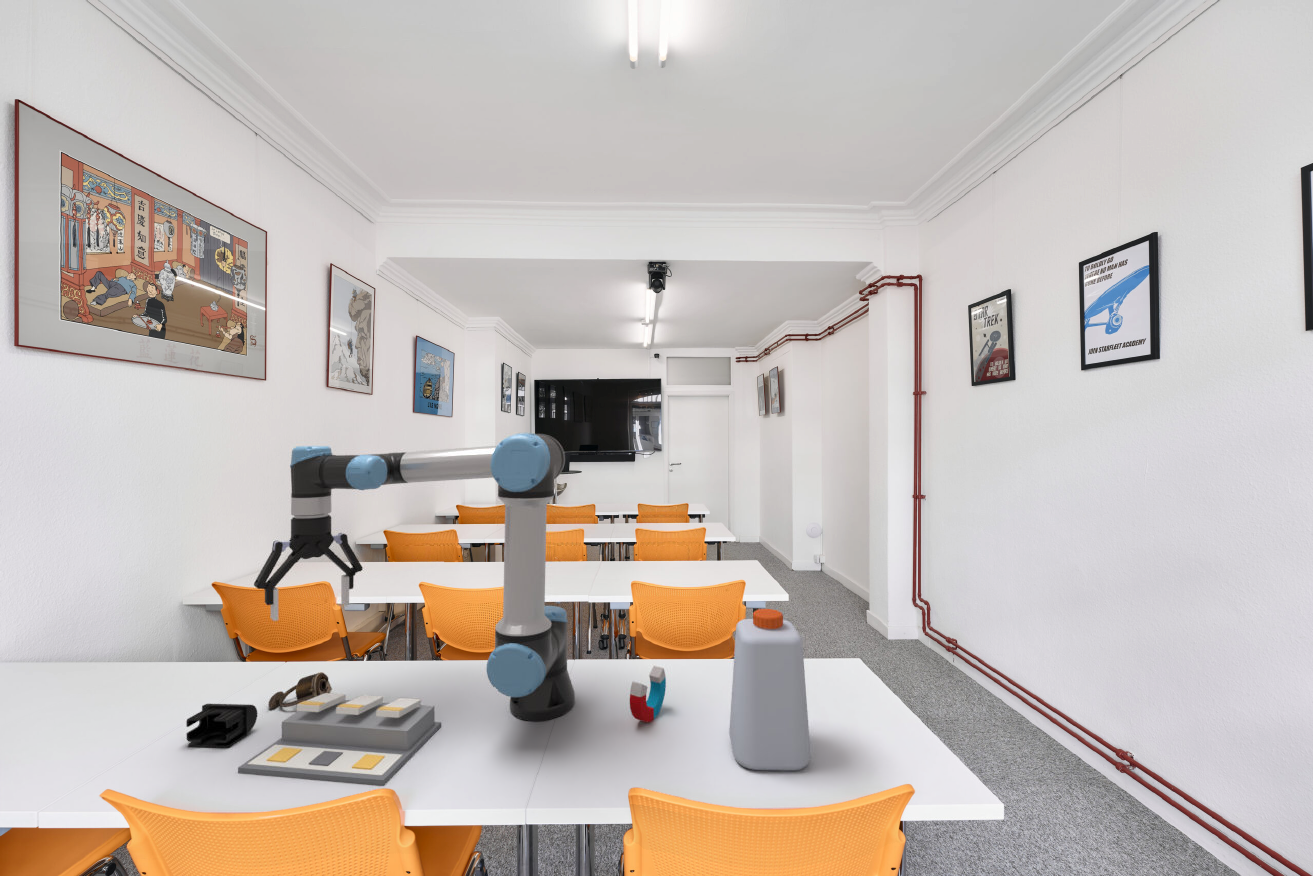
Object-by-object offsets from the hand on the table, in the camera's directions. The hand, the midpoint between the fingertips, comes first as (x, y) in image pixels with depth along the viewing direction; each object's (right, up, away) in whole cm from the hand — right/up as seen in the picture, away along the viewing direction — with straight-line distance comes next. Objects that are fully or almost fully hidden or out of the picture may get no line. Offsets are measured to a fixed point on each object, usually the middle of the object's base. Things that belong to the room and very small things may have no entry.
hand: (311, 611), depth 117 cm
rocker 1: (+4, -18, -3) cm, 19 cm away
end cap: (-16, -26, -5) cm, 31 cm away
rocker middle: (+13, -18, -4) cm, 23 cm away
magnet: (+75, -26, +3) cm, 79 cm away
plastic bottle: (+99, -25, -9) cm, 103 cm away
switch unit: (+13, -25, -8) cm, 30 cm away
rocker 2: (+22, -18, -6) cm, 29 cm away
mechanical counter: (-9, -26, +11) cm, 29 cm away
